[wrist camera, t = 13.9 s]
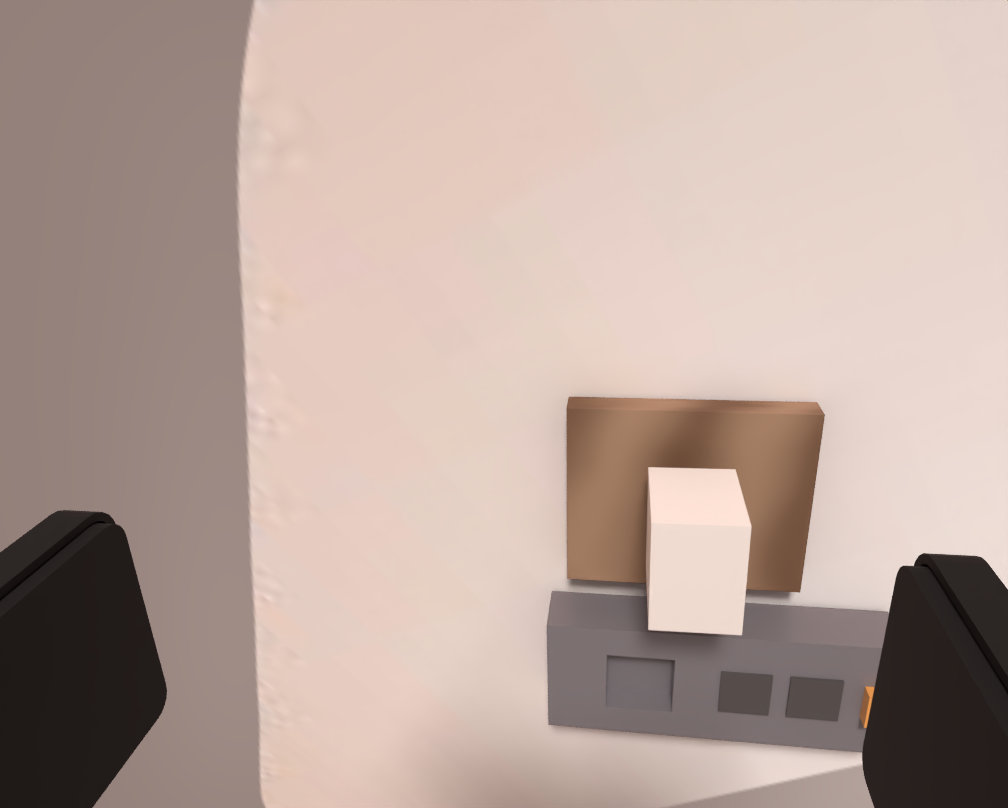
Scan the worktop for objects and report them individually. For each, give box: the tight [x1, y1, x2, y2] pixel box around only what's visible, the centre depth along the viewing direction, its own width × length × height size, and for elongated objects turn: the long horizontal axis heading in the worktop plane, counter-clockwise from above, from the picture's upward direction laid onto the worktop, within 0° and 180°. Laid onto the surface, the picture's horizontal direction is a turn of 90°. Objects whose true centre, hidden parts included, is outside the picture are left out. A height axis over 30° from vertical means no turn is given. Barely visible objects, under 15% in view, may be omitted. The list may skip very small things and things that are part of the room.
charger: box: [646, 467, 752, 635], centre depth 35 cm, size 4×6×6 cm
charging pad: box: [567, 397, 825, 592], centre depth 39 cm, size 12×10×2 cm
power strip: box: [547, 591, 889, 752], centre depth 41 cm, size 18×7×4 cm, turn 92°
